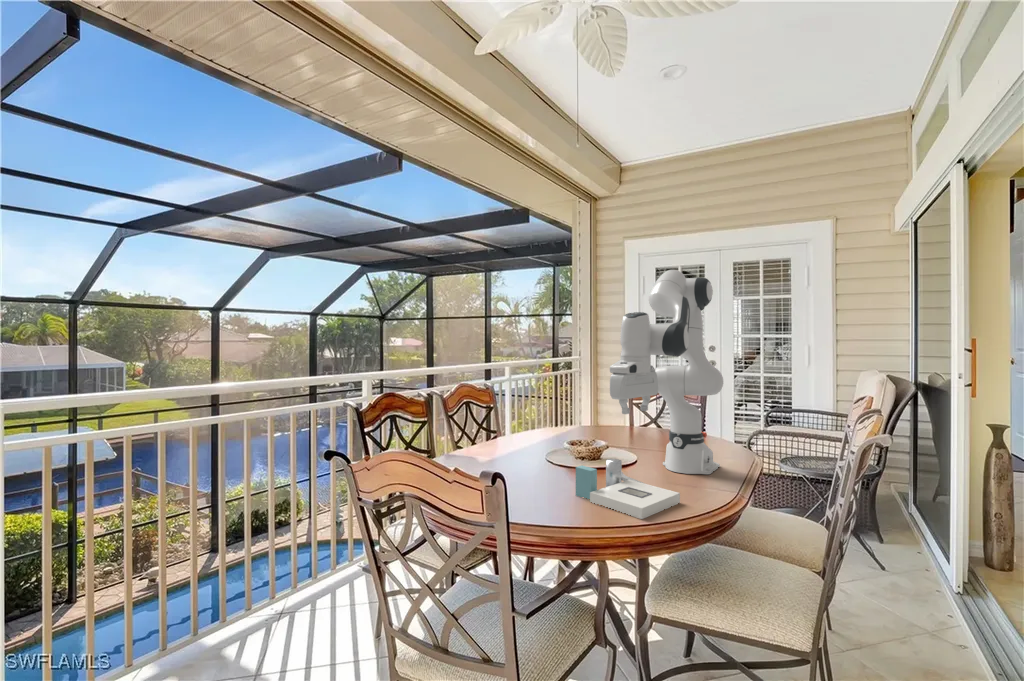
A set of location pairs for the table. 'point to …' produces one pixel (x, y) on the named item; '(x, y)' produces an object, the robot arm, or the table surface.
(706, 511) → the table surface
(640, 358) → the robot arm
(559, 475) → the table surface
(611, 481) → the round peg
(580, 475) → the flat bar
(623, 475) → the adjustable wrench
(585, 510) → the table surface
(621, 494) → the socket plate
